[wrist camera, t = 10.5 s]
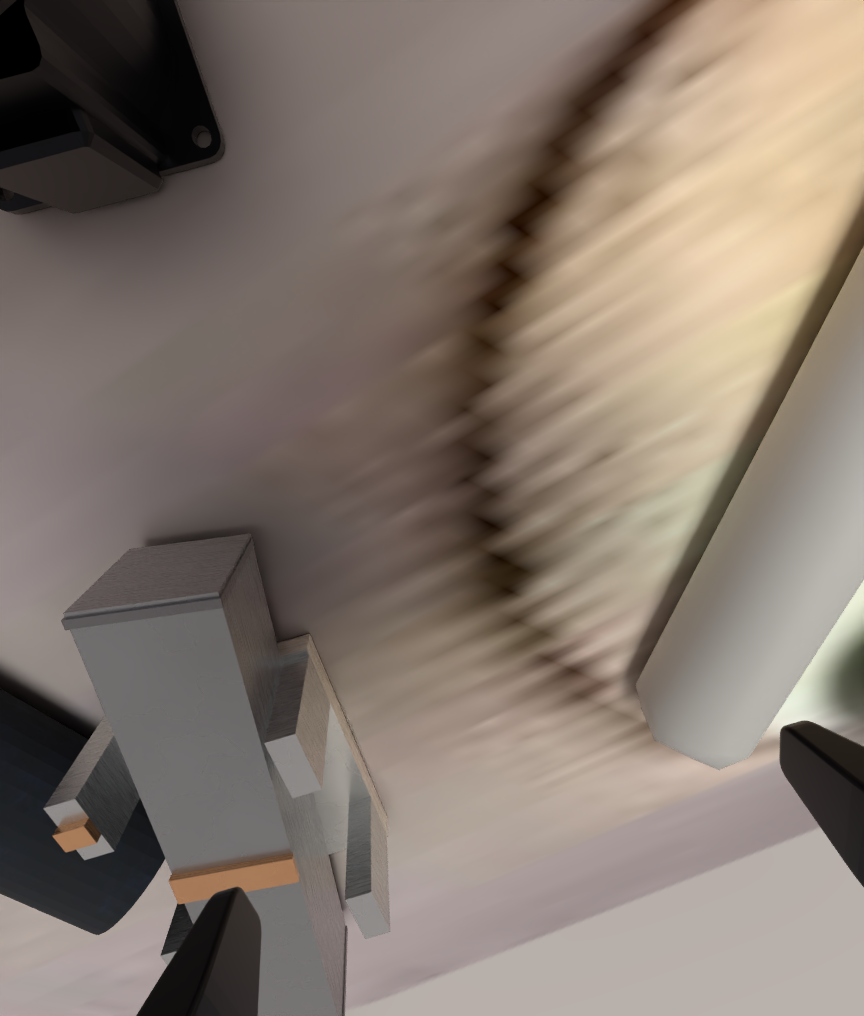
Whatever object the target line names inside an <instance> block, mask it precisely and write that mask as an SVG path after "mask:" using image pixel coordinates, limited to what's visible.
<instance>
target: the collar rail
mask: <svg viewBox="0 0 864 1016" xmlns="http://www.w3.org/2000/svg"><path fill="white" fill-rule="evenodd" d="M277 646H278V650H279V654H280V658H281V662H282V666H283V667H282V671H281V676H280V680H279V684H278V688H277V692H276V696H275V700H274V704H273V708H272V713H271V717H270V721H269V725H268V729H267V733H266V737H265V741H264V744H265V746H266V748H267V750H268V752H269V754H270V756H271V758H272V760H273V762H274V763H275V765H276V767H277V769H278V771H279V773H280V775H281V777H282V779H283V781H284V783H285V785H286V787H287V789H288V791H289V793H290V794H291V796H292V798H295V797H299V796H302V795H305V794H309V793H312V792H313V794H314V798H315V802H316V806H317V810H318V814H319V818H320V822H321V826H322V831H323V835H324V839H325V843H326V847H327V851H328V855H330V854H333V853H336V852H340V851H343V850H346V849H347V863H346V889H345V901H346V903H347V905H348V907H349V909H350V911H351V913H352V914H353V916H354V918H355V920H356V922H357V924H358V926H359V928H360V930H361V932H362V934H363V936H364V938H365V939H368V938H371V937H375V936H378V935H381V934H385V933H388V932H390V912H389V885H388V859H387V837H388V822H387V815H386V813H385V810H384V808H383V806H382V803H381V801H380V799H379V796H378V794H377V792H376V789H375V787H374V784H373V782H372V780H371V777H370V775H369V773H368V770H367V768H366V766H365V763H364V761H363V758H362V756H361V754H360V751H359V749H358V747H357V744H356V742H355V740H354V737H353V735H352V732H351V730H350V728H349V725H348V723H347V721H346V718H345V716H344V714H343V711H342V709H341V706H340V704H339V702H338V699H337V697H336V695H335V692H334V690H333V688H332V685H331V683H330V680H329V678H328V676H327V673H326V671H325V669H324V666H323V664H322V662H321V659H320V657H319V654H318V652H317V650H316V647H315V645H314V643H313V640H312V638H311V636H310V634H307V635H303V636H300V637H296V638H293V639H290V640H286V641H283V642H279V643H277ZM139 798H140V796H139V794H138V791H137V789H136V786H135V784H134V782H133V779H132V777H131V774H130V772H129V770H128V767H127V765H126V762H125V760H124V758H123V755H122V753H121V751H120V748H119V746H118V743H117V741H116V739H115V736H114V734H113V731H112V729H111V727H110V724H109V722H108V719H107V717H106V715H105V716H104V717H103V719H102V720H101V722H100V723H99V725H98V726H97V728H96V730H95V731H94V733H93V734H92V736H91V737H90V739H89V740H88V742H87V743H86V745H85V746H84V748H83V749H82V751H81V752H80V754H79V755H78V757H77V758H76V760H75V761H74V763H73V764H72V766H71V767H70V769H69V770H68V772H67V773H66V775H65V776H64V778H63V779H62V781H61V782H60V784H59V785H58V787H57V788H56V790H55V791H54V793H53V794H52V796H51V797H50V799H49V800H48V802H47V803H46V805H45V807H44V808H43V809H44V810H45V811H46V813H47V814H48V815H49V816H50V818H51V819H52V820H53V821H54V823H55V824H56V825H57V826H58V827H57V829H56V830H55V832H54V834H53V835H52V836H53V838H54V839H55V840H56V841H57V842H58V844H59V845H60V846H61V847H62V849H63V850H64V851H65V852H69V851H73V850H77V852H78V853H79V854H80V855H81V857H82V858H83V859H84V860H87V859H90V858H94V857H97V856H100V855H104V854H107V853H111V852H114V851H115V849H116V847H117V845H118V843H119V841H120V838H121V836H122V834H123V832H124V830H125V828H126V826H127V824H128V822H129V819H130V817H131V815H132V813H133V811H134V809H135V807H136V805H137V803H138V801H139ZM192 926H193V923H192V920H191V918H190V916H189V913H188V911H187V909H186V906H185V904H178V903H177V907H176V910H175V913H174V916H173V919H172V922H171V925H170V928H169V931H168V934H167V937H166V940H165V943H164V947H163V950H162V953H161V957H162V959H163V960H164V961H165V962H166V964H167V965H168V964H169V963H170V961H171V959H172V958H173V956H174V955H175V953H176V951H177V950H178V948H179V947H180V945H181V943H182V942H183V940H184V939H185V937H186V935H187V934H188V932H189V931H190V929H191V927H192Z"/></svg>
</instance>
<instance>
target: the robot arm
mask: <svg viewBox="0 0 864 1016" xmlns="http://www.w3.org/2000/svg"><path fill="white" fill-rule="evenodd" d="M201 131H208V132H210V133H211V138H212V141H211V144H210V145H209V146H208V147H206V148H200V147H199V146H198V145H197V139H196V138H197V135H198V133H200V132H201ZM224 148H225V142H224V137H223V134H222V131H221V128H220V125H219V122H218V119H217V117H216V114H215V111H214V108H213V105H212V102H211V99H210V96H209V93H208V90H207V88H206V85H205V82H204V79H203V76H202V73H201V70H200V67H199V64H198V61H197V59H196V56H195V53H194V50H193V47H192V44H191V41H190V38H189V35H188V32H187V30H186V27H185V24H184V21H183V18H182V15H181V12H180V9H179V6H178V3H177V1H176V0H0V209H1V210H4V211H7V212H10V213H13V214H24V213H28V212H32V211H36V210H39V209H43V208H47V207H50V206H54V207H57V208H59V209H62V210H65V211H68V212H71V213H79V212H83V211H86V210H90V209H94V208H97V207H101V206H105V205H108V204H112V203H116V202H119V201H123V200H127V199H130V198H134V197H138V196H141V195H145V194H149V193H153V192H156V191H158V190H159V188H160V186H161V184H162V178H161V176H165V175H169V174H172V173H176V172H180V171H183V170H187V169H191V168H194V167H198V166H202V165H206V164H209V163H213V162H215V161H217V160H219V159H220V158H221V156H222V155H223V153H224ZM3 188H4V189H7V190H9V191H12V192H14V196H13V199H11V200H10V201H7V199H6V198H5V197H4V194H3ZM780 765H781V768H782V771H783V773H784V775H785V777H786V778H787V780H788V781H789V783H790V784H791V785H792V787H793V788H794V790H795V791H796V793H797V794H798V796H799V797H800V798H801V800H802V801H803V803H804V804H805V806H806V807H807V808H808V810H809V811H810V813H811V814H812V816H813V817H814V819H815V820H816V821H817V823H818V824H819V826H820V827H821V829H822V830H823V831H824V833H825V834H826V835H827V837H828V839H829V840H830V841H831V843H832V844H833V846H834V847H835V849H836V850H837V851H838V853H839V854H840V856H841V857H842V858H843V860H844V862H845V863H846V864H847V866H848V867H849V869H850V870H851V871H852V872H853V874H854V875H855V877H856V878H857V879H858V881H859V882H860V883H861V884H862V886H863V887H864V746H862V745H860V744H858V743H856V742H854V741H851V740H849V739H847V738H845V737H843V736H841V735H839V734H837V733H835V732H832V731H830V730H828V729H826V728H824V727H822V726H820V725H818V724H816V723H813V722H810V721H800V722H796V723H793V724H789V725H786V726H784V727H783V728H782V729H781V732H780ZM261 936H262V929H261V921H260V918H259V915H258V913H257V911H256V910H255V908H254V907H253V905H252V903H251V902H250V900H249V898H248V897H247V895H246V894H245V892H244V890H243V889H242V888H240V887H233V888H230V889H226V890H223V891H219V892H217V893H215V894H214V895H213V896H212V897H211V898H210V899H209V900H208V902H207V903H206V905H205V907H204V908H203V910H202V911H201V913H200V915H199V916H198V918H197V919H196V921H195V923H194V924H193V926H192V927H191V929H190V931H189V932H188V934H187V935H186V937H185V939H184V940H183V942H182V943H181V945H180V947H179V948H178V950H177V951H176V953H175V955H174V956H173V958H172V959H171V961H170V963H169V964H168V966H167V967H166V969H165V971H164V972H163V974H162V975H161V977H160V979H159V980H158V982H157V983H156V985H155V987H154V988H153V990H152V991H151V993H150V995H149V996H148V998H147V999H146V1001H145V1003H144V1004H143V1006H142V1007H141V1009H140V1011H139V1012H138V1014H137V1015H136V1016H258V1001H259V979H260V958H261Z"/></svg>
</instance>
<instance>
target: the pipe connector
mask: <svg viewBox="0 0 864 1016" xmlns="http://www.w3.org/2000/svg"><path fill="white" fill-rule="evenodd" d="M88 740H89V739H87V738H85V737H83V736H82V735H80V734H78V733H76V732H75V731H73V730H71V729H69V728H68V727H66V726H64V725H63V724H61V723H59V722H57V721H56V720H54V719H52V718H50V717H49V716H47V715H45V714H43V713H42V712H40V711H38V710H37V709H35V708H33V707H31V706H30V705H28V704H26V703H24V702H23V701H21V700H19V699H17V698H16V697H14V696H12V695H11V694H9V693H7V692H5V691H4V690H2V689H0V894H2V895H5V896H7V897H9V898H12V899H14V900H16V901H19V902H21V903H23V904H26V905H28V906H30V907H32V908H35V909H37V910H39V911H42V912H44V913H46V914H49V915H51V916H53V917H56V918H58V919H60V920H62V921H65V922H67V923H69V924H72V925H74V926H76V927H79V928H81V929H83V930H86V931H88V932H90V933H93V934H96V935H99V934H102V933H104V932H106V931H107V930H109V929H110V928H111V927H113V926H114V925H115V924H116V923H117V922H118V921H119V920H120V919H121V918H122V917H123V916H124V915H125V914H126V913H127V912H128V911H129V910H130V908H131V907H132V906H133V905H134V904H135V902H136V901H137V900H138V899H139V897H140V896H141V895H142V893H143V892H144V891H145V889H146V888H147V886H148V885H149V884H150V882H151V881H152V879H153V878H154V876H155V875H156V873H157V871H158V870H159V868H160V867H161V865H162V863H163V862H164V860H165V856H164V853H163V851H162V849H161V846H160V844H159V841H158V839H157V837H156V834H155V832H154V830H153V827H152V825H151V822H150V820H149V818H148V815H147V813H146V810H145V808H144V806H143V803H142V801H141V798H139V801H138V803H137V805H136V807H135V809H134V811H133V813H132V815H131V817H130V819H129V822H128V824H127V826H126V828H125V830H124V832H123V834H122V836H121V838H120V841H119V843H118V845H117V847H116V849H115V851H114V852H111V853H107V854H104V855H100V856H97V857H94V858H90V859H87V860H84V859H83V858H82V857H81V855H80V854H79V853H78V852H77V850H73V851H69V852H65V851H64V850H63V849H62V847H61V846H60V845H59V844H58V842H57V841H56V840H55V839H54V838H53V836H52V835H53V834H54V832H55V830H56V829H57V827H58V826H57V825H56V824H55V823H54V821H53V820H52V819H51V818H50V816H49V815H48V814H47V813H46V811H45V810H44V809H43V808H44V807H45V805H46V803H47V802H48V800H49V799H50V797H51V796H52V794H53V793H54V791H55V790H56V788H57V787H58V785H59V784H60V782H61V781H62V779H63V778H64V776H65V775H66V773H67V772H68V770H69V769H70V767H71V766H72V764H73V763H74V761H75V760H76V758H77V757H78V755H79V754H80V752H81V751H82V749H83V748H84V746H85V745H86V743H87V742H88Z"/></svg>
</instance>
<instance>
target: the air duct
mask: <svg viewBox="0 0 864 1016" xmlns="http://www.w3.org/2000/svg"><path fill="white" fill-rule="evenodd" d="M63 614H64V616H65V617H64V618H63V619H62V620H61V621H62V624H63V626H64V629H65V630H70V631H71V633H72V636H73V638H74V640H75V643H76V645H77V648H78V650H79V652H80V655H81V657H82V660H83V662H84V664H85V667H86V669H87V671H88V674H89V676H90V679H91V681H92V683H93V686H94V688H95V691H96V693H97V695H98V698H99V700H100V703H101V705H102V707H103V710H104V712H105V715H106V717H107V719H108V722H109V724H110V727H111V729H112V731H113V734H114V736H115V739H116V741H117V743H118V746H119V748H120V751H121V753H122V755H123V758H124V760H125V762H126V765H127V767H128V770H129V772H130V774H131V777H132V779H133V782H134V784H135V786H136V789H137V791H138V794H139V796H140V798H141V801H142V803H143V806H144V808H145V810H146V813H147V815H148V818H149V820H150V822H151V825H152V827H153V830H154V832H155V834H156V837H157V839H158V841H159V844H160V846H161V849H162V851H163V853H164V856H165V858H166V861H167V863H168V865H169V868H170V870H171V873H172V875H171V877H170V879H169V883H170V885H171V888H172V890H173V892H174V895H175V897H176V900H177V902H178V904H185V906H186V909H187V911H188V913H189V916H190V918H191V920H192V923H193V924H194V923H195V921H196V919H197V918H198V916H199V915H200V913H201V911H202V910H203V908H204V907H205V905H206V903H207V902H208V900H209V899H210V898H211V897H212V896H213V895H214V894H215V893H217V892H219V891H223V890H226V889H230V888H233V887H240V888H242V889H243V890H244V892H245V894H246V895H247V897H248V898H249V900H250V902H251V903H252V905H253V907H254V908H255V910H256V911H257V913H258V915H259V918H260V921H261V929H262V936H261V958H260V979H259V1001H258V1016H345V997H346V966H347V934H348V929H347V926H346V925H345V921H344V917H343V913H342V909H341V904H340V900H339V896H338V892H337V888H336V884H335V880H334V876H333V872H332V867H331V863H330V859H329V855H328V851H327V847H326V843H325V839H324V835H323V831H322V826H321V822H320V818H319V814H318V810H317V806H316V802H315V798H314V794H313V792H312V793H309V794H305V795H302V796H299V797H295V798H292V796H291V794H290V793H289V791H288V789H287V787H286V785H285V783H284V781H283V779H282V777H281V775H280V773H279V771H278V769H277V767H276V765H275V763H274V762H273V760H272V758H271V756H270V754H269V752H268V750H267V748H266V746H265V744H264V741H265V737H266V733H267V729H268V725H269V721H270V717H271V713H272V708H273V704H274V700H275V696H276V692H277V688H278V684H279V680H280V676H281V671H282V667H283V666H282V662H281V658H280V654H279V650H278V646H277V642H276V638H275V633H274V629H273V625H272V621H271V617H270V613H269V609H268V605H267V601H266V596H265V592H264V588H263V584H262V580H261V576H260V572H259V568H258V564H257V560H256V555H255V551H254V541H253V537H251V535H250V534H242V535H234V536H227V537H219V538H211V539H203V540H196V541H188V542H180V543H173V544H165V545H157V546H149V547H142V548H134V549H129V550H128V551H127V552H126V553H125V554H124V555H123V556H122V557H121V558H120V559H119V560H118V561H117V562H116V563H115V564H114V565H113V566H112V567H111V568H110V569H109V570H108V571H107V572H106V573H105V574H104V575H102V576H101V577H100V578H99V579H98V580H97V581H96V582H95V583H94V584H93V585H92V586H91V587H90V588H89V589H88V590H87V591H86V592H85V593H84V594H83V595H82V596H81V597H80V598H79V599H78V600H77V601H76V602H75V603H74V604H73V605H71V606H70V607H69V608H68V609H67V610H66V611H65V612H64V613H63Z"/></svg>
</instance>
